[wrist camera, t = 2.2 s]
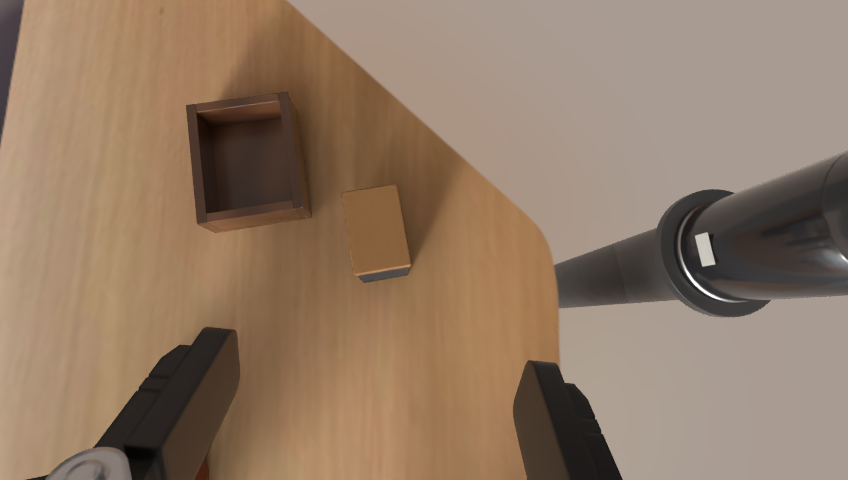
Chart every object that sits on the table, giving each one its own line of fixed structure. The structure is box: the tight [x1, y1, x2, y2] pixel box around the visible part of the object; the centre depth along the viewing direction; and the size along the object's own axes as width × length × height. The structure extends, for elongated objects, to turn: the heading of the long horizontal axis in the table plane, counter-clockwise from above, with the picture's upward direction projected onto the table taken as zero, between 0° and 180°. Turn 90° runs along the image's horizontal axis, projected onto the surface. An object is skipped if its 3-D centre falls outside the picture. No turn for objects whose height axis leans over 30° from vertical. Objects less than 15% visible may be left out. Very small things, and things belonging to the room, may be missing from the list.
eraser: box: [341, 184, 411, 283], centre depth 35 cm, size 4×6×8 cm
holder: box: [186, 92, 312, 233], centre depth 38 cm, size 9×11×4 cm
